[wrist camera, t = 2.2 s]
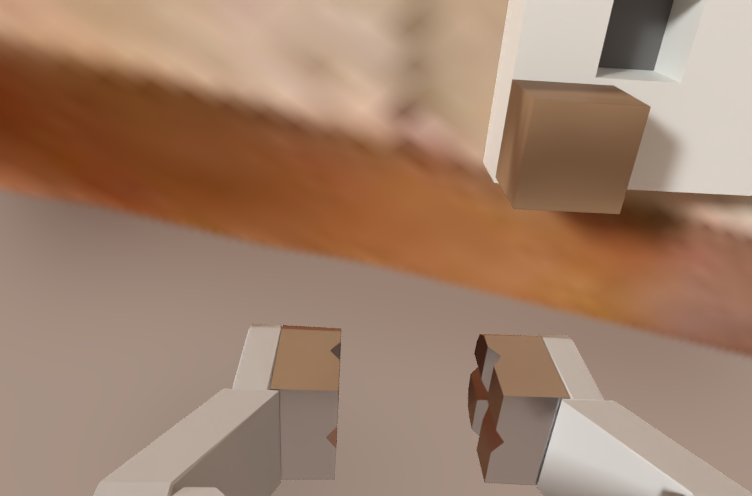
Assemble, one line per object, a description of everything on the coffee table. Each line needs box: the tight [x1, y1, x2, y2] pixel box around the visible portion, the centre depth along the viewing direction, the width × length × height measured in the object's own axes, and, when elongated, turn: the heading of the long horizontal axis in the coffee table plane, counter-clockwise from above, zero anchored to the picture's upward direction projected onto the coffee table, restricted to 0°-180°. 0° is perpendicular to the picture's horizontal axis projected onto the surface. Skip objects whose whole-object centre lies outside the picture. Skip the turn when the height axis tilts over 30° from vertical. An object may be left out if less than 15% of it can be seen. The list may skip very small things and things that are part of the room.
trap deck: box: [483, 0, 752, 196], centre depth 24 cm, size 8×18×2 cm, turn 86°
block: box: [496, 79, 651, 214], centre depth 22 cm, size 4×4×3 cm
